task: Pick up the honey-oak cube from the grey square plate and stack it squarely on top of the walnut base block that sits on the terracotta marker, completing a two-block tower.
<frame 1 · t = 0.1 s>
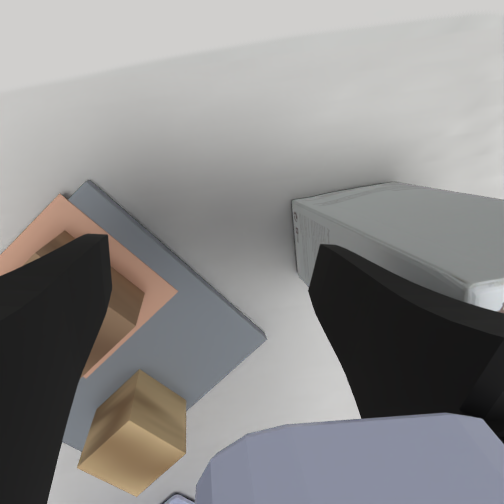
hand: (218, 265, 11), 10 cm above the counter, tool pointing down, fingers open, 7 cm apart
oak block: (142, 404, 24), point 1 cm above the counter, touching grey square plate
walnut base block: (74, 295, 20), point 1 cm above the counter, touching grey square plate
skincare box: (347, 225, 24), on the counter
grey square plate: (107, 343, 23), on the counter
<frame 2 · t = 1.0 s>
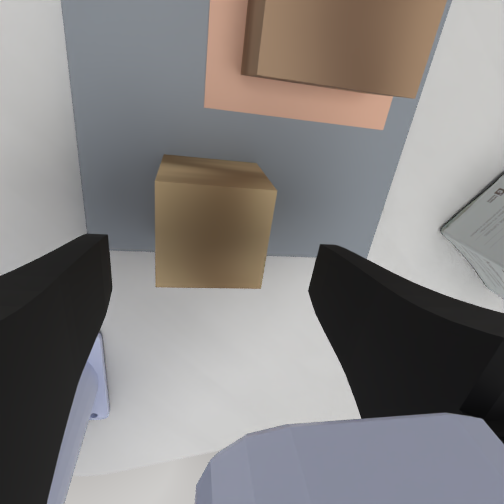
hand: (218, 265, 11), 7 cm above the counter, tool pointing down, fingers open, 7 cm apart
oak block: (208, 202, 17), point 1 cm above the counter, touching grey square plate
walnut base block: (319, 3, 13), point 1 cm above the counter, touching grey square plate
skincare box: (499, 230, 22), on the counter
grey square plate: (256, 101, 16), on the counter
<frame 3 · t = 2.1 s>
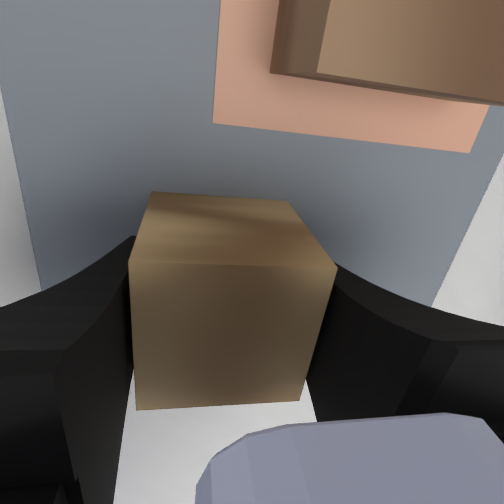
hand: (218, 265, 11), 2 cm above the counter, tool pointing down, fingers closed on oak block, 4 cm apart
oak block: (217, 255, 12), point 1 cm above the counter, touching gripper, grey square plate
grey square plate: (288, 112, 11), on the counter
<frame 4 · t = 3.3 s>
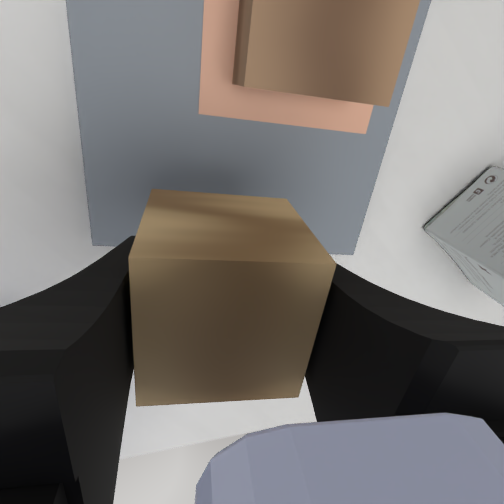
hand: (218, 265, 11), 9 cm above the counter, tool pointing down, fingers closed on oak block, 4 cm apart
oak block: (216, 253, 12), point 8 cm above the counter, touching gripper
walnut base block: (304, 19, 15), point 1 cm above the counter, touching grey square plate
skincare box: (480, 228, 24), on the counter
grey square plate: (247, 107, 17), on the counter
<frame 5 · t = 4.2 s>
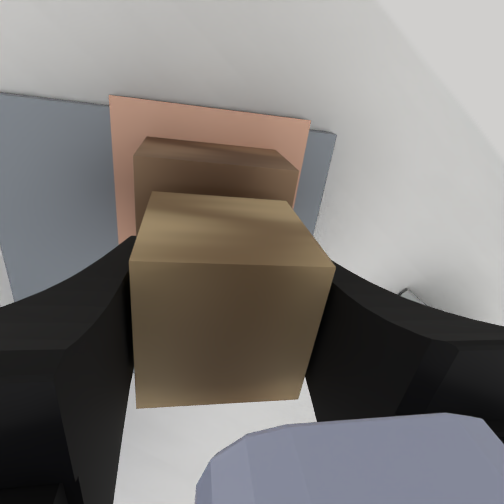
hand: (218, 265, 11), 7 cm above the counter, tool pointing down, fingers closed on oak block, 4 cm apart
oak block: (216, 255, 12), point 6 cm above the counter, touching gripper
walnut base block: (209, 204, 17), point 1 cm above the counter, touching grey square plate
grey square plate: (169, 262, 19), on the counter
when the fingers open (6 cm above the counter, at t = 4.8 s): oak block stays where it is, resting on walnut base block.
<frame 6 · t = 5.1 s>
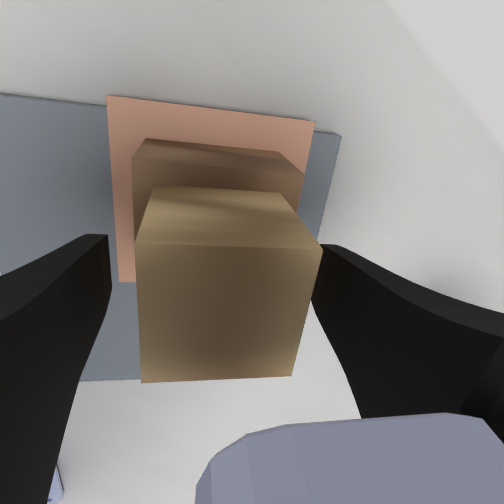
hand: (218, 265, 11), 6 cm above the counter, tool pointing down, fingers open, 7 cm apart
oak block: (215, 244, 13), point 5 cm above the counter, touching walnut base block
walnut base block: (210, 207, 16), point 1 cm above the counter, touching oak block, grey square plate
grey square plate: (168, 266, 18), on the counter
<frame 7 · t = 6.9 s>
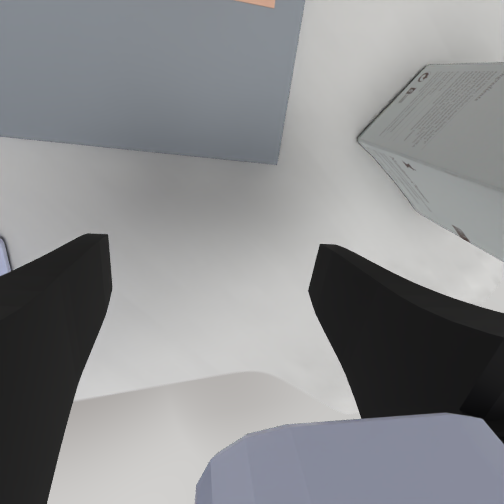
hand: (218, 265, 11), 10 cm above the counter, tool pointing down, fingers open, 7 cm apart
skincare box: (422, 145, 22), on the counter
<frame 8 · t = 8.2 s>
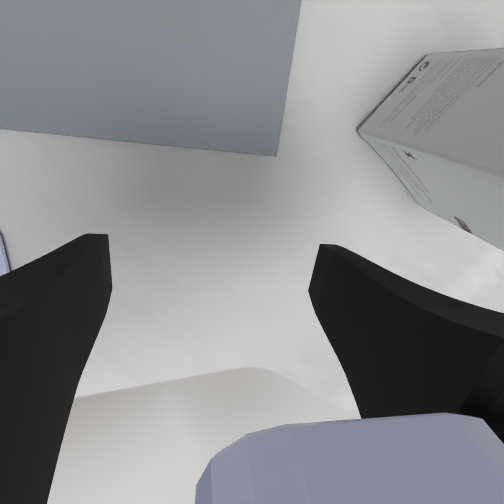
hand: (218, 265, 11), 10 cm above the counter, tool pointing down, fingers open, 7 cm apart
skincare box: (423, 137, 21), on the counter
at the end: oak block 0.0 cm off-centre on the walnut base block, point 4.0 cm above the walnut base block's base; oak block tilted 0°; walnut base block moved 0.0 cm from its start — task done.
